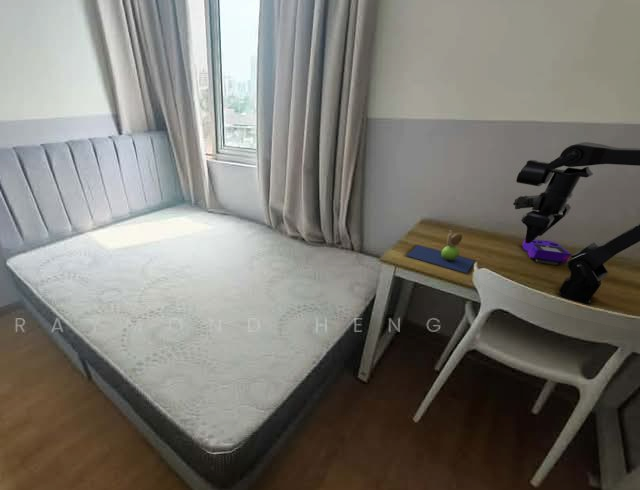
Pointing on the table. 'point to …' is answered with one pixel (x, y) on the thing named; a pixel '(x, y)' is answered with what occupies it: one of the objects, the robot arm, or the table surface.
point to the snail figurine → (451, 246)
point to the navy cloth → (441, 259)
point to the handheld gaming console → (546, 251)
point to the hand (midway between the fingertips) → (533, 239)
